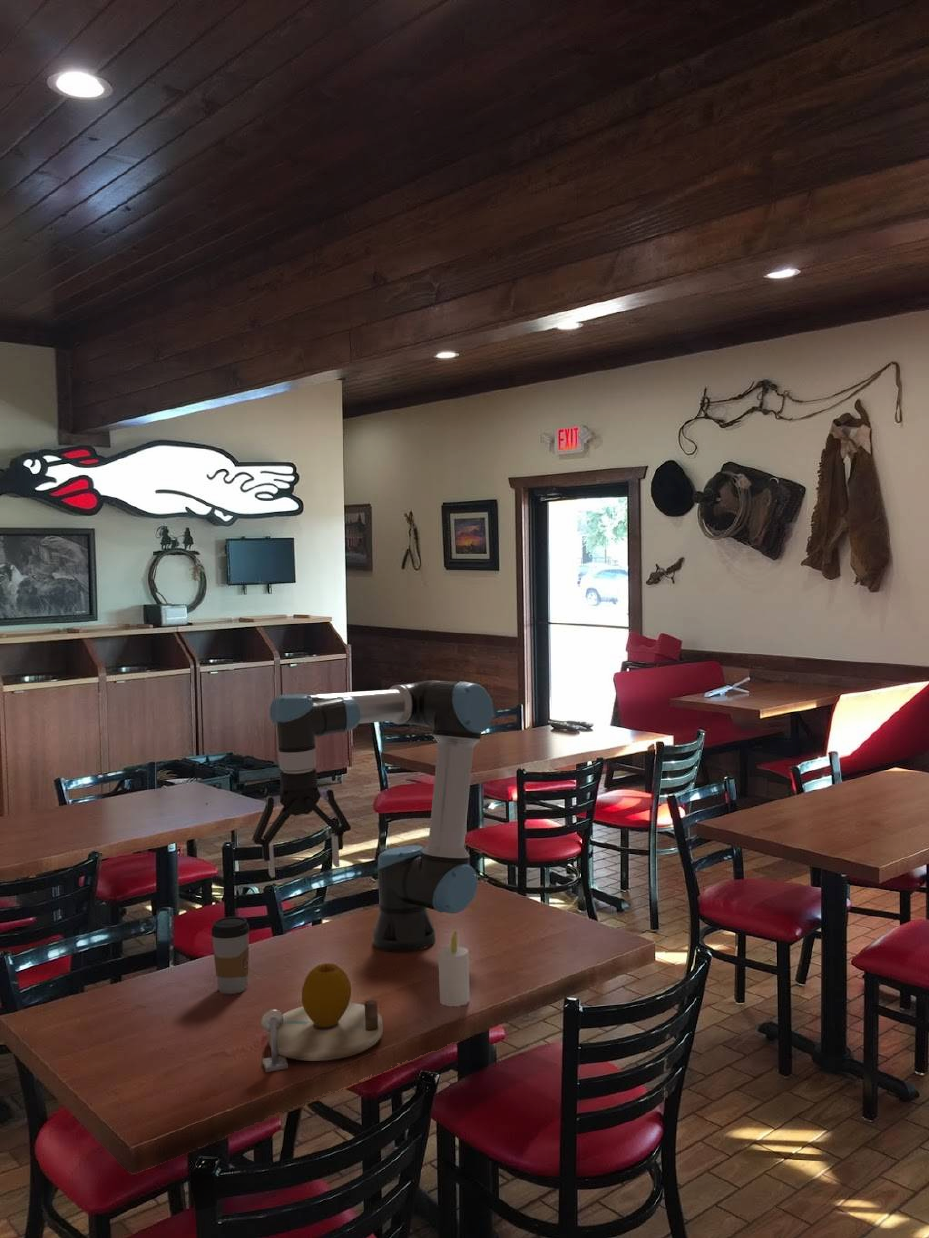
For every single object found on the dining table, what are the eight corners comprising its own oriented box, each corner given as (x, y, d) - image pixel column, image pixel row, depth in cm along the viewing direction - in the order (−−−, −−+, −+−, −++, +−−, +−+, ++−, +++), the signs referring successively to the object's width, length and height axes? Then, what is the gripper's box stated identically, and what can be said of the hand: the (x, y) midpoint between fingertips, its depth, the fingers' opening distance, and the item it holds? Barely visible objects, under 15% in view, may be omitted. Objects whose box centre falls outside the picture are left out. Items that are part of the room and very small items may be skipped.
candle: (447, 992, 227) (445, 923, 227) (474, 997, 225) (472, 927, 224) (433, 1003, 222) (431, 933, 221) (461, 1008, 219) (459, 937, 218)
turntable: (397, 1015, 214) (396, 981, 214) (359, 1065, 193) (358, 1027, 192) (296, 1007, 220) (295, 974, 219) (249, 1055, 198) (247, 1018, 198)
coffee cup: (243, 997, 229) (240, 928, 228) (207, 995, 231) (204, 927, 230) (258, 982, 237) (255, 916, 236) (223, 980, 239) (220, 915, 238)
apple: (357, 1030, 203) (355, 970, 203) (306, 1038, 200) (304, 976, 200) (347, 1010, 212) (345, 953, 212) (299, 1018, 210) (297, 959, 209)
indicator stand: (284, 1058, 199) (282, 1006, 198) (287, 1068, 195) (285, 1014, 194) (262, 1062, 197) (260, 1010, 197) (266, 1072, 194) (263, 1018, 193)
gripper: (351, 759, 227) (357, 856, 228) (234, 773, 218) (241, 874, 219) (361, 765, 220) (367, 865, 221) (240, 780, 211) (247, 884, 212)
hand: (304, 870), depth 220 cm, fingers open, 13 cm apart
